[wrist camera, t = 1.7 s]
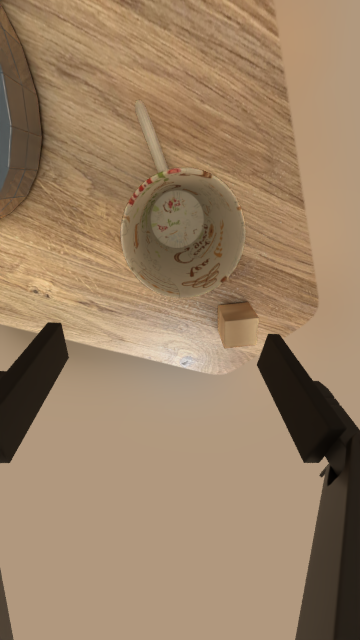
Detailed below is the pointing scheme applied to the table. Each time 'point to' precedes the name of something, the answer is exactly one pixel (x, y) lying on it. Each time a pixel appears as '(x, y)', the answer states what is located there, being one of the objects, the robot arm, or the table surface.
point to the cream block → (237, 325)
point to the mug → (181, 226)
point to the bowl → (16, 121)
